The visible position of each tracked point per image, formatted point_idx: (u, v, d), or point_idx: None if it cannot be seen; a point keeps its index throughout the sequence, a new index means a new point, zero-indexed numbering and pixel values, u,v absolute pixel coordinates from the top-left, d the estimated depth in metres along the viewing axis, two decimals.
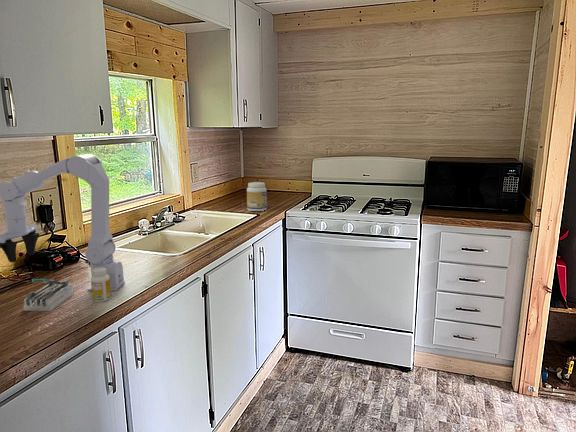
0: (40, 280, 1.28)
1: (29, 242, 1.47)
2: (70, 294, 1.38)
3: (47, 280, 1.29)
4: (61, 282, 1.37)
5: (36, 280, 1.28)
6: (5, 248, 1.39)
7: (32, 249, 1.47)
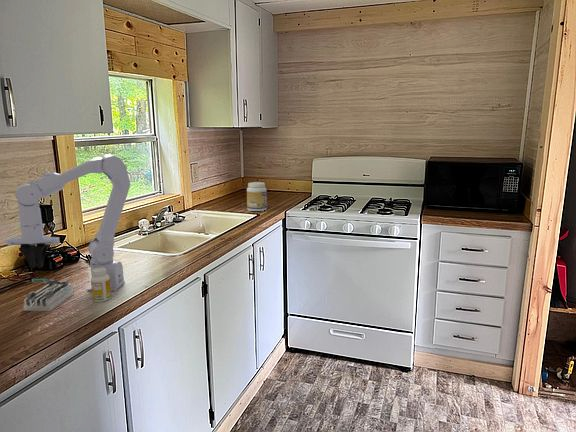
0: (40, 280, 1.28)
1: None
2: (70, 294, 1.38)
3: (47, 280, 1.29)
4: (61, 282, 1.37)
5: (36, 280, 1.28)
6: None
7: None
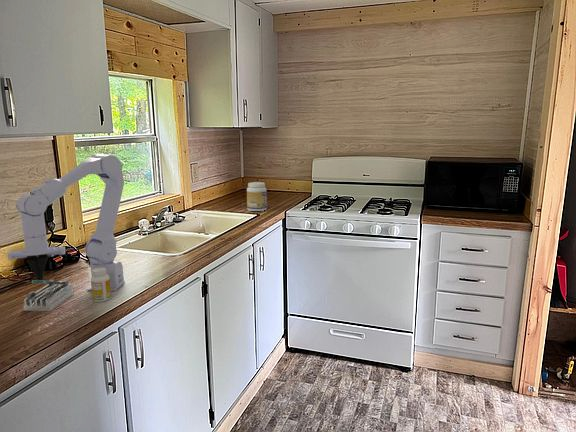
0: (40, 281, 1.28)
1: None
2: (70, 294, 1.38)
3: (47, 281, 1.29)
4: (61, 282, 1.37)
5: (36, 281, 1.28)
6: None
7: None
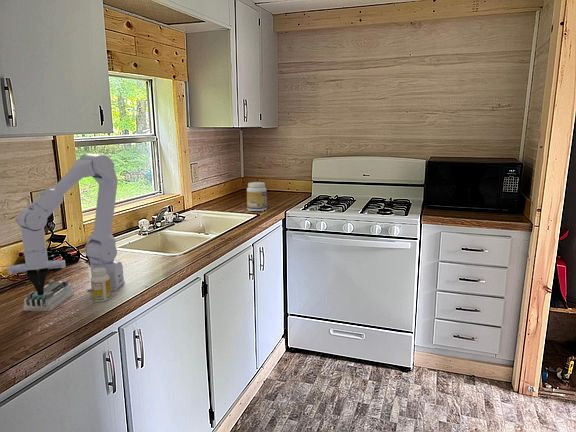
0: (40, 296, 1.28)
1: None
2: (70, 294, 1.38)
3: None
4: (61, 284, 1.37)
5: (36, 296, 1.28)
6: None
7: (40, 288, 1.28)
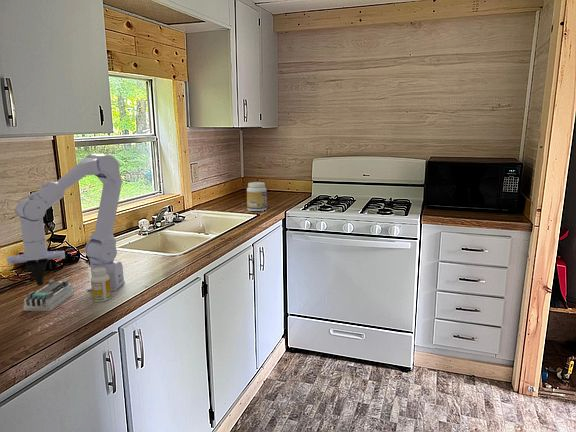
0: (40, 296, 1.28)
1: None
2: (70, 294, 1.38)
3: None
4: (61, 284, 1.37)
5: (36, 296, 1.28)
6: None
7: None
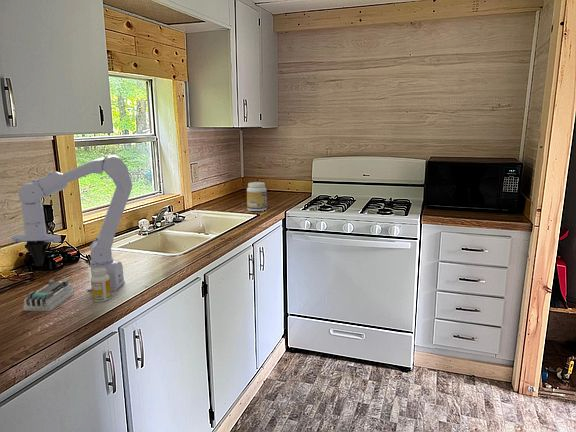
0: (40, 296, 1.28)
1: None
2: (70, 294, 1.38)
3: None
4: (61, 284, 1.37)
5: (36, 296, 1.28)
6: None
7: None
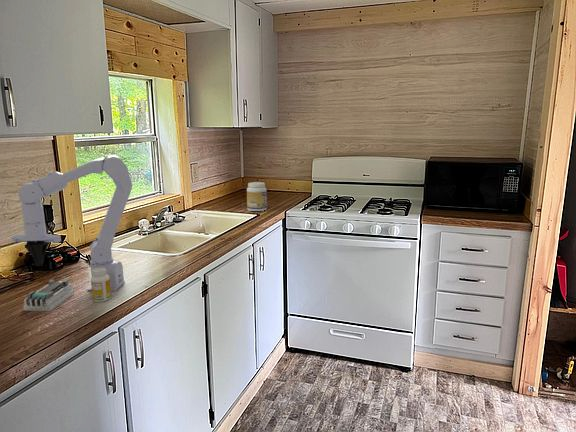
0: (40, 296, 1.28)
1: None
2: (70, 294, 1.38)
3: None
4: (61, 284, 1.37)
5: (36, 296, 1.28)
6: None
7: None
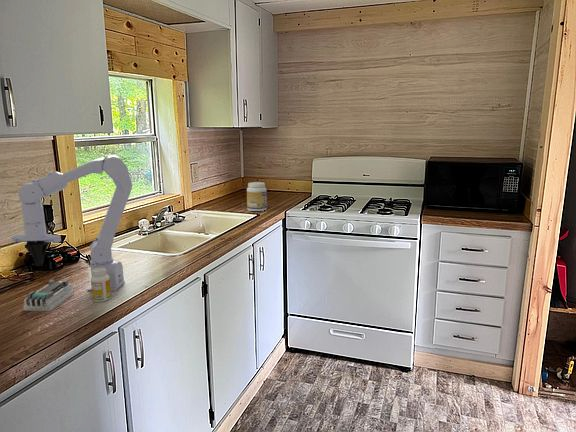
0: (40, 296, 1.28)
1: None
2: (70, 294, 1.38)
3: None
4: (61, 284, 1.37)
5: (36, 296, 1.28)
6: None
7: None
